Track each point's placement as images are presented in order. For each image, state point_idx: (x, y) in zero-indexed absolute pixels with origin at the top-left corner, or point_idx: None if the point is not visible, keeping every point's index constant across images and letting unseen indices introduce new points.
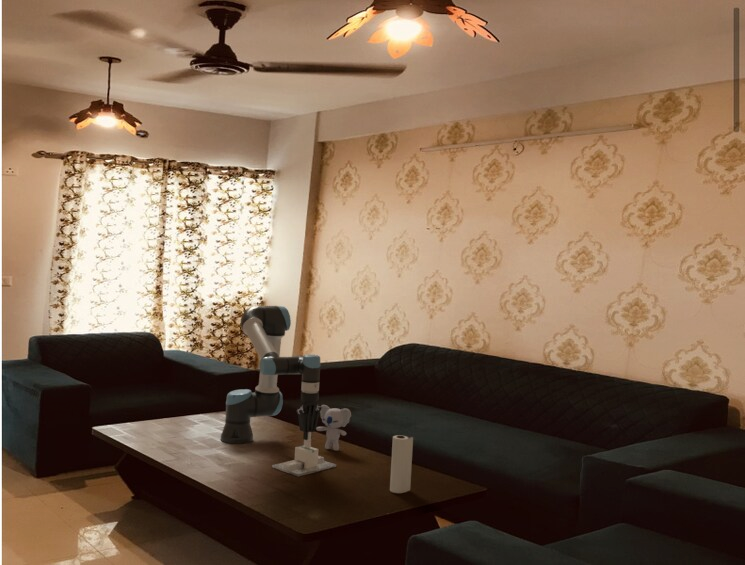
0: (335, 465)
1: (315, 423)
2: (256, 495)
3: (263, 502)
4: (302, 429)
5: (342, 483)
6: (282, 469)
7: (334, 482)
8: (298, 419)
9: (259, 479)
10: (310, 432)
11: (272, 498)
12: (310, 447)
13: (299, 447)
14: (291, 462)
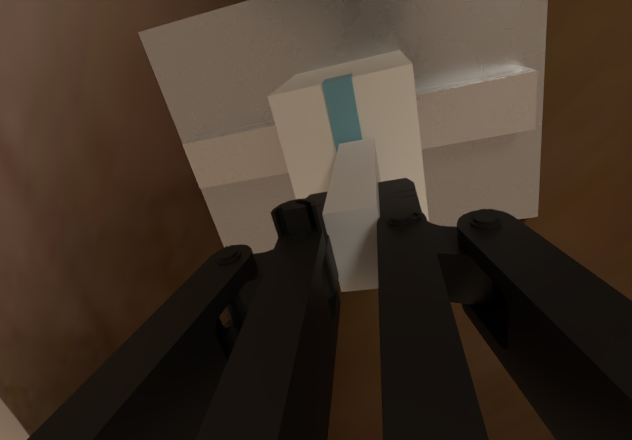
0: (528, 215)
1: (515, 370)
2: (14, 336)
3: (31, 385)
4: (227, 311)
5: (366, 388)
6: (182, 138)
7: (344, 368)
8: (52, 414)
9: (40, 198)
10: (372, 287)
11: (64, 375)
12: (403, 163)
13: (305, 117)
14: (238, 135)
